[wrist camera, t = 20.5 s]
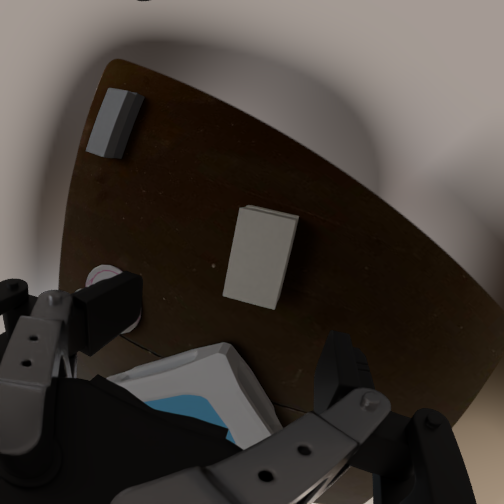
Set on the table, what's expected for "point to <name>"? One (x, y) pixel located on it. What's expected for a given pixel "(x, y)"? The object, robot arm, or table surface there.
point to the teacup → (105, 273)
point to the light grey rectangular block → (259, 256)
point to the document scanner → (206, 391)
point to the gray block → (114, 123)
